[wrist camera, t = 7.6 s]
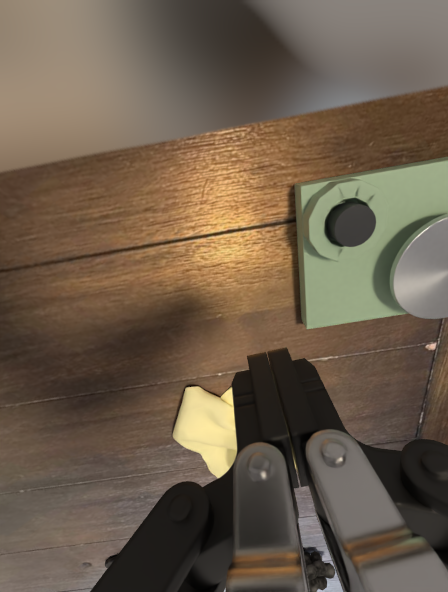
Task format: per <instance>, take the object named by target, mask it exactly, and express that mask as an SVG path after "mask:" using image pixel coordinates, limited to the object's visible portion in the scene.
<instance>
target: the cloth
mask: <svg viewBox="0 0 448 592" xmlns="http://www.w3.org/2000/svg"><path fill="white" fill-rule="evenodd" d="M173 437H174V439H175V440H176V441H177V442H178V443H180V444H181V445H182V446H184V447H185V448H187V449H190V450H192V451H195V452H198V453H200V454H201V455H202V457H203V459H204V461H205V462H206V464H207V465H208V469H209V470H210V472H211V473H213V474H214V475H215V476H216V477H217V478H220V477H221V476H223V475H224V474H225V473H226V472H227V471H228V470H229V469H230V467H231V466H232V464H233V463H234V460H235V458H236V454H237V440H236V429H235V418H234V406H233V395H232V387H231V388H229V389H228V390H227V391H226V392H225V393H224V394H223V395H222V396H221V397H220V398H219V397H217V396H215V395H213V394H210V393H208V392H207V391H205V390H203V389H202V388H200V387H198V386H196V387H187V388H186V389H185V392H184V396H183V402H182V405H181V407H180V410H179V414H178V418H177V421H176V424H175V427H174V431H173ZM294 463H295V462H294ZM295 469H296V465H295Z"/></svg>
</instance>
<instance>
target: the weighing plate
mask: <svg viewBox="0 0 448 592" xmlns="http://www.w3.org/2000/svg"><path fill="white" fill-rule="evenodd" d="M390 289H391V293H392V296H393V298H394V300H395V301H396V302H397V304H398V305H399V306H400V307H401V308H402V309H404V310H405V311H406V312H408V313H409V314H411V315H414V316H416V317H420V318H426V319H438V318H444V317H448V214H445V215H443V216H440V217H438V218H436V219H433V220H431V221H430V222H428V223H427V224H425V225H423V226H422V227H421V228H419V229H418V230H417V231H416V232H415V233H414V234H413V235H411V236H410V238H409V239H408V240H407V241H406V242H405V243H404V245H403V246H402V247H401V249H400V250H399V252H398V254H397V255H396V258H395V260H394V262H393V265H392V268H391V273H390Z"/></svg>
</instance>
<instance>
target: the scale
mask: <svg viewBox="0 0 448 592" xmlns="http://www.w3.org/2000/svg"><path fill="white" fill-rule="evenodd" d="M345 202H355V203H358V204H361V205H364V206H367V207H369V208H370V209H371V210H372V211H373V212H374V214H375V217H376V227H375V230H374V232H373V234H372V236H371V237H370V238H369V239H368V240H367V241H366V242H365V243H363V244H361V245H359V246H355V247H346V246H343V245H341V244H340V243H338V242H337V241H336V240H334V239H333V238H332V237H331V236H330V235H329V233H328V231H327V220H328V217H329V215H330V213H331V212H332V211H333V210H334V209H335V208H336V207H337V206H338V205H340V204H342V203H345ZM295 204H296V224H297V243H298V262H299V282H300V301H301V319H302V321H303V323H304V325H305V327H306V328H307V329H312V328H318V327H325V326H331V325H337V324H344V323H350V322H356V321H363V320H369V319H375V318H382V317H388V316H394V315H401V314H407V313H408V312H406V311H405V310H404V309H402V308H401V307H400V306H399V305H398V304H397V302H396V301H395V300H394V298H393V296H392V293H391V289H390V273H391V268H392V265H393V262H394V260H395V258H396V255H397V254H398V252H399V250H400V249H401V247H402V246H403V245H404V243H405V242H406V241H407V240H408V239H409V238H410V236H411V235H413V234H414V233H415V232H416V231H417V230H418V229H419V228H421V227H422V226H423V225H425V224H427V223H428V222H430V221H431V220H433V219H436V218H438V217H440V216H443V215H445V214H448V157H444V158H438V159H433V160H427V161H421V162H416V163H410V164H404V165H399V166H393V167H387V168H382V169H376V170H370V171H364V172H359V173H353V174H347V175H342V176H336V177H330V178H325V179H319V180H313V181H308V182H302V183H296V184H295Z"/></svg>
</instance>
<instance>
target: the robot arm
mask: <svg viewBox="0 0 448 592" xmlns="http://www.w3.org/2000/svg"><path fill="white" fill-rule="evenodd" d="M268 358H269V361H268ZM247 359H248V364H249V370H246V371H241V372H237V373H236V374H235V377H234V379H233V381H232V395H233V406H234V418H235V429H236V440H237V454H236V458H235V460H234V463H233V464H232V466H231V467H230V469H229V470H228V471H227V472H226V473H225V474H224V475H223V476H221V477H220V478H218V479H216V480H214V481H213V482H211V483H209V484H207V485H206V486H204V487H201V486H200V485H199V484H197V483H195V482H189V481H186V482H181V483H178V484H176V485H174V486H172V487H171V488H170V489H169V490H167V491H166V492H165V494H164V495H163V496H162V497H161V498H160V500H159V501H158V502H157V504H156V505H155V506H154V508H153V509H152V510H151V512H150V513H149V514H148V516H147V517H146V518H145V520H144V521H143V522H142V524H141V525H140V526H139V528H138V529H137V530H136V532H135V533H134V534H133V536H132V537H131V538H130V540H129V541H128V542H127V544H126V545H125V546H124V548H123V549H122V550H121V552H120V553H119V554H118V556H117V557H116V558H115V560H114V561H113V562H112V564H111V565H110V566H109V568H108V569H107V570H106V571H105V573H104V574H103V575H102V577H101V578H100V579H99V581H98V582H97V583H96V585H95V586H94V587H93V589H92V590H91V591H90V592H224V590H225V588H226V592H310V588H309V582H308V576H307V570H306V564H305V558H304V552H303V547H302V541H301V535H300V529H299V523H298V518H299V512H298V506H297V502H296V497H295V492H294V488H299V484H298V479H297V474H296V469H297V473H298V476H299V480H300V484H301V487H303V486H309V488H310V492H311V495H312V498H313V502H314V507H315V513H316V517H317V520H318V522H319V525H320V528H321V531H322V533H323V536H324V539H325V542H326V545H327V547H328V550H329V553H330V556H331V558H332V561H333V564H334V567H335V569H336V572H337V575H338V578H339V581H340V583H341V586H342V589H343V592H448V445H445V444H443V443H441V442H437V441H434V440H428V439H419V440H414V441H411V442H409V443H408V444H406V445H405V447H404V448H403V450H402V451H396V450H388V449H380V448H374V447H371V446H367V445H365V444H363V443H361V442H359V441H357V440H356V439H355V438H353V437H352V436H351V435H350V434H349V433H348V432H347V430H346V429H345V427H344V426H343V424H342V422H341V419H340V417H339V415H338V413H337V411H336V409H335V407H334V405H333V403H332V401H331V399H330V397H329V395H328V393H327V391H326V390H325V387H324V384H323V382H322V380H321V379H320V376H319V374H318V372H317V370H316V368H315V366H313V365H312V364H311V363H310V362H308V361H307V360H306V359H305V358H303V359H298V360H294V361H292V359H291V357H290V354H289V352H288V349H287V348H282V349H277V350H272V351H268V357H267V354H266V352H263V353H258V354H254V355H249V356H247ZM269 362H270V365H269ZM270 367H271V368H270ZM294 462H295V463H294ZM295 465H296V469H295Z"/></svg>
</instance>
